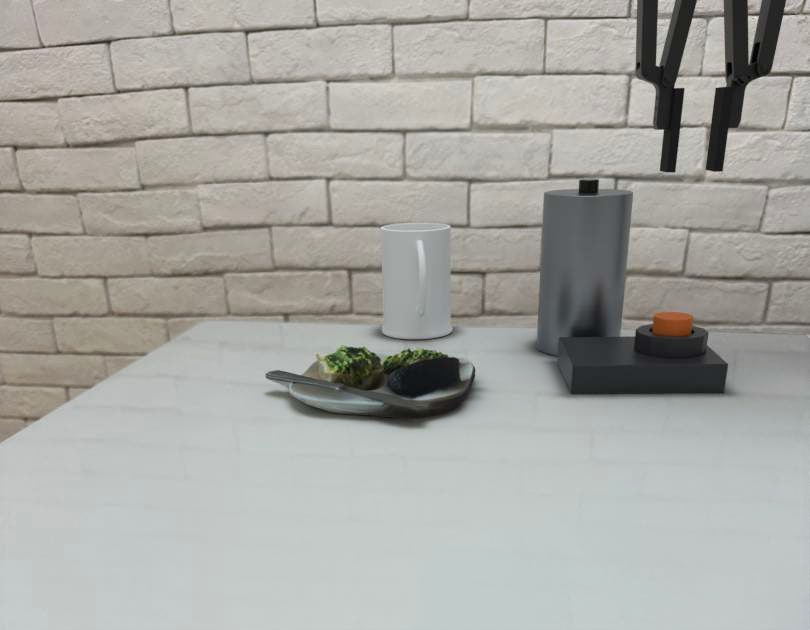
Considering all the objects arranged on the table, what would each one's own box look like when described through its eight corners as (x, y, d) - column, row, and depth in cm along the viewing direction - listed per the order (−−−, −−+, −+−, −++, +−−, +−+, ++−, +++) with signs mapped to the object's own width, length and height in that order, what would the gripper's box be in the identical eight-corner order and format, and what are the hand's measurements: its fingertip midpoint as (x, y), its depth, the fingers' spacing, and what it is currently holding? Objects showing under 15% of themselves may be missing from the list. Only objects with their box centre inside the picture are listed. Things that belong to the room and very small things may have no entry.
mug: (455, 346, 97) (455, 233, 91) (379, 347, 97) (375, 235, 91) (450, 322, 107) (451, 221, 102) (382, 324, 107) (379, 222, 102)
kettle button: (685, 329, 83) (687, 311, 83) (695, 338, 80) (697, 319, 79) (648, 330, 84) (650, 312, 83) (656, 338, 80) (658, 320, 80)
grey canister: (611, 337, 99) (625, 175, 91) (626, 357, 91) (642, 181, 83) (533, 338, 99) (540, 177, 91) (540, 358, 91) (549, 183, 83)
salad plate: (235, 419, 75) (230, 367, 73) (299, 365, 90) (296, 321, 88) (455, 429, 71) (455, 374, 69) (482, 371, 87) (482, 325, 85)
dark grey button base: (693, 361, 88) (699, 317, 86) (724, 392, 79) (731, 344, 77) (557, 363, 89) (559, 319, 87) (570, 394, 79) (574, 345, 77)
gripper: (630, -175, 62) (603, 175, 73) (862, -184, 61) (801, 171, 72) (612, -147, 69) (590, 170, 79) (821, -155, 68) (771, 166, 78)
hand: (690, 170), depth 75 cm, fingers open, 3 cm apart
